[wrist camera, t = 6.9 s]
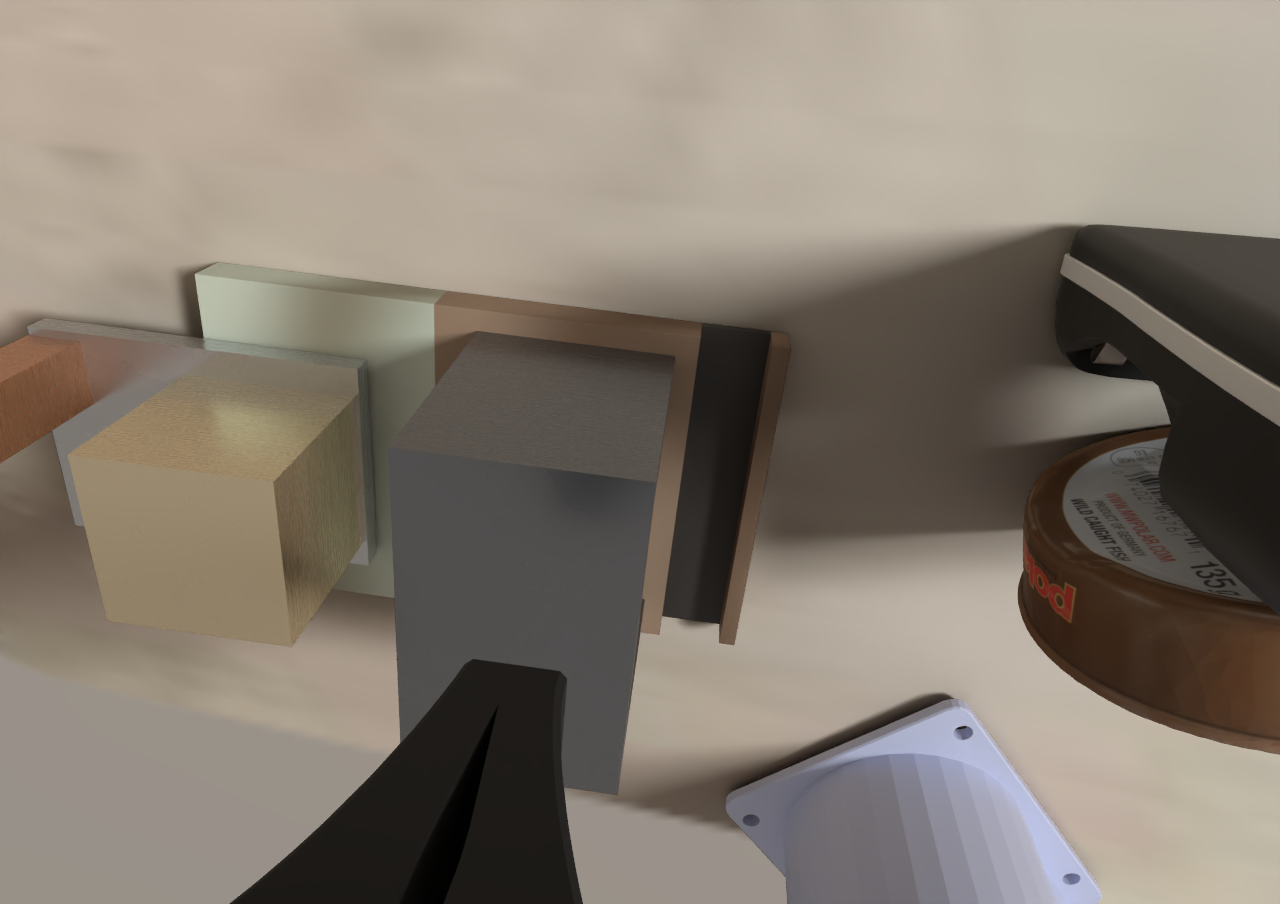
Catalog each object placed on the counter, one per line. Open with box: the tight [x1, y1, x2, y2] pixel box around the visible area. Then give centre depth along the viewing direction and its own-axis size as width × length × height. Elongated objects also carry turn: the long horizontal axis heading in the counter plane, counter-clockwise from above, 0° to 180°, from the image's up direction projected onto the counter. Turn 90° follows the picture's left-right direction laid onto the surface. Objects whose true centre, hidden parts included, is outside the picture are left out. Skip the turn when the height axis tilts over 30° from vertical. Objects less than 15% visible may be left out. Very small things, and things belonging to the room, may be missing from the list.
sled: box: [0, 318, 377, 647], centre depth 18 cm, size 8×5×8 cm
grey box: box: [388, 331, 675, 795], centre depth 19 cm, size 4×7×6 cm, turn 174°
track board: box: [195, 262, 791, 645], centre depth 22 cm, size 14×8×1 cm, turn 84°
